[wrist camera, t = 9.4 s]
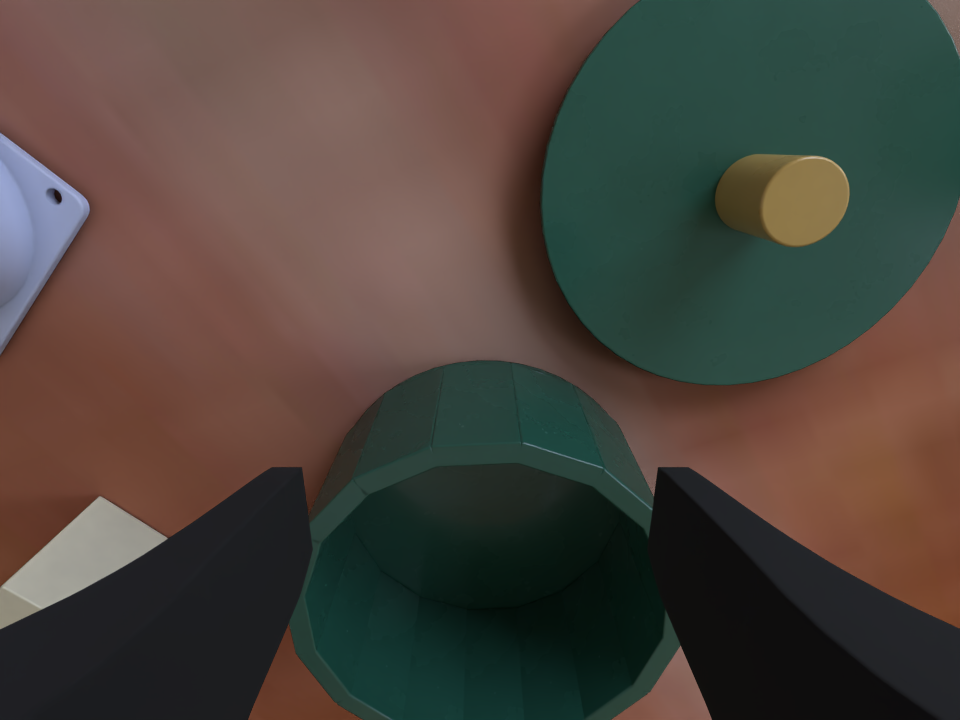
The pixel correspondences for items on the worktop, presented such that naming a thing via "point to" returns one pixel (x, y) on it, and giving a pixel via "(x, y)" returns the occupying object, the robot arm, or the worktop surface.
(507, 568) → the tea tin
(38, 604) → the block
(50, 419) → the worktop surface
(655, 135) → the tin lid
